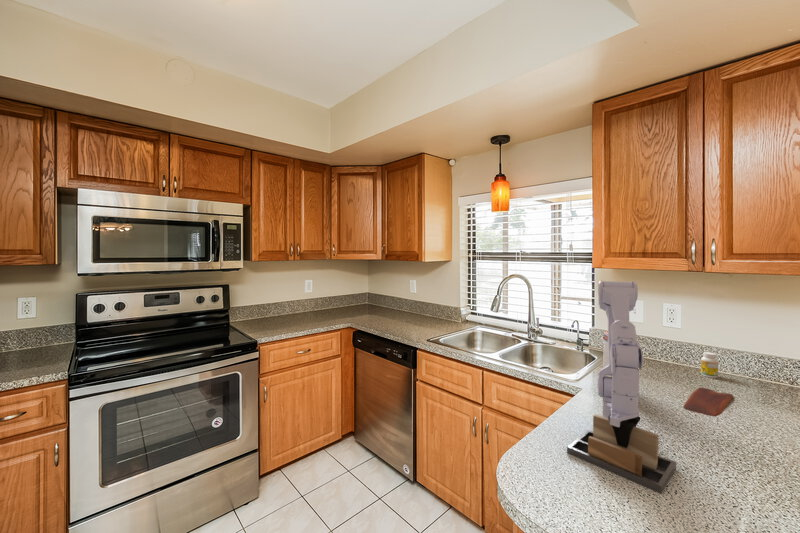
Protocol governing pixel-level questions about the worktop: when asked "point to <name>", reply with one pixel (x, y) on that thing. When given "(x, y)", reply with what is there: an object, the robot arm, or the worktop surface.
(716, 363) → the supplement bottle
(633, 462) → the oak offcuts
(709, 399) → the reddish brown cloth
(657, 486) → the rack
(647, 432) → the birch sheet
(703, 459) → the worktop surface
